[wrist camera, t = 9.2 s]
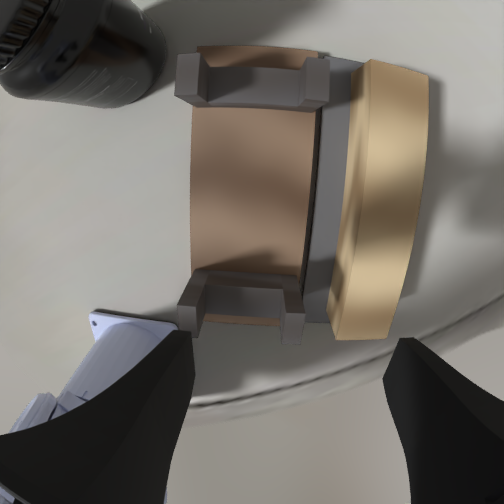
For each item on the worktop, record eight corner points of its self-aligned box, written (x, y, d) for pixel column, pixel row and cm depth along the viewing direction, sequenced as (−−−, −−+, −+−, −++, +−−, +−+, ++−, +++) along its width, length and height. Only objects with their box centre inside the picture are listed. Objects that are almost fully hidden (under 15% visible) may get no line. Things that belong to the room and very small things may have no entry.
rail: (370, 310, 20) (386, 338, 17) (325, 310, 20) (336, 340, 17) (401, 85, 14) (428, 76, 11) (351, 73, 14) (370, 59, 11)
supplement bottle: (182, 21, 13) (97, -84, 2) (152, 114, 16) (10, 94, 5) (98, 22, 13) (-14, -33, 2) (71, 106, 15) (-66, 105, 4)
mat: (384, 319, 21) (386, 322, 20) (298, 319, 21) (299, 322, 20) (420, 81, 14) (423, 80, 14) (322, 57, 14) (324, 55, 14)
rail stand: (291, 318, 21) (299, 370, 16) (196, 312, 21) (178, 362, 16) (314, 56, 14) (335, 23, 9) (200, 51, 14) (176, 18, 9)
